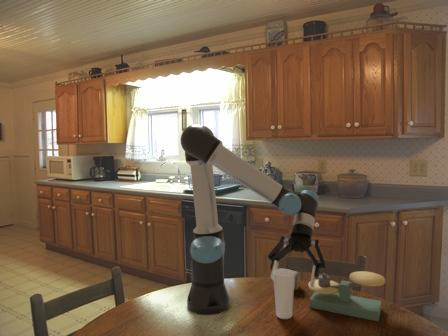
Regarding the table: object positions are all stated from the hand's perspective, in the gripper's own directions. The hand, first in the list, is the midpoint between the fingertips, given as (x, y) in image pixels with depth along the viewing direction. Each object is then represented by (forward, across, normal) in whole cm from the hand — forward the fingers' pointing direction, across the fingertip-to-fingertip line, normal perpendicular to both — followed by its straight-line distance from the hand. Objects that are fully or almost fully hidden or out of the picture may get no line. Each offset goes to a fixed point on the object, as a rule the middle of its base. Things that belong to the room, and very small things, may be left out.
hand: (291, 282), depth 119 cm
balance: (0, -16, -14) cm, 21 cm away
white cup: (+10, +2, -5) cm, 11 cm away
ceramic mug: (-6, +7, -21) cm, 23 cm away
